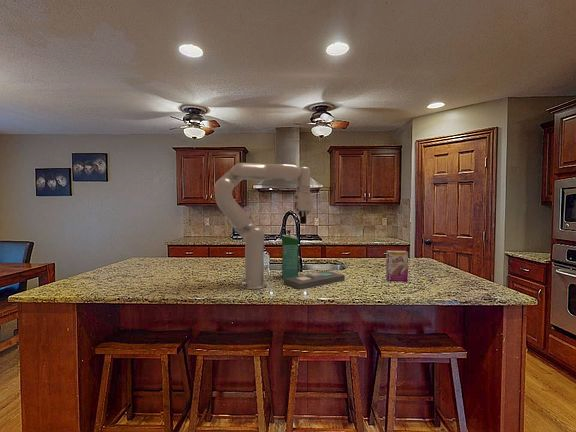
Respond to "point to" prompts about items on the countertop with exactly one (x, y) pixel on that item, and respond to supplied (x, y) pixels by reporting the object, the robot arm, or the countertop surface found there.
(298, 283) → the keypad
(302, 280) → the cream key
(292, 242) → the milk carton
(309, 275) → the slate key
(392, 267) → the candy bar box
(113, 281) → the countertop surface
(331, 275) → the teal key
